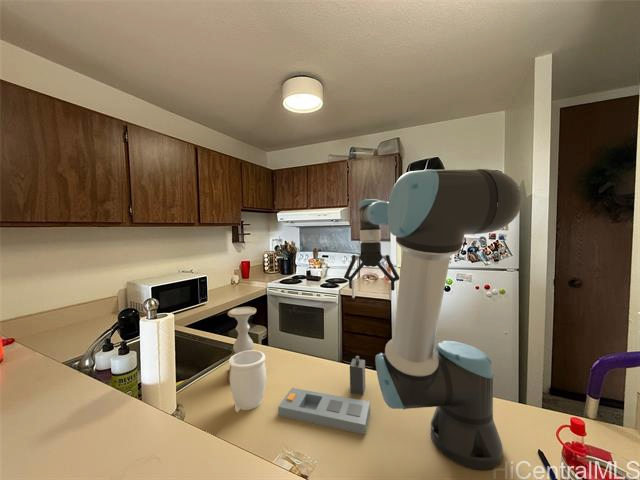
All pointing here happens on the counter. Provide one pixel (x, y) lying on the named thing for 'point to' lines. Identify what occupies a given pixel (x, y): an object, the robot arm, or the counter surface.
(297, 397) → the power strip
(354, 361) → the block
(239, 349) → the candle holder
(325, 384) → the counter surface
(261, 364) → the jar
